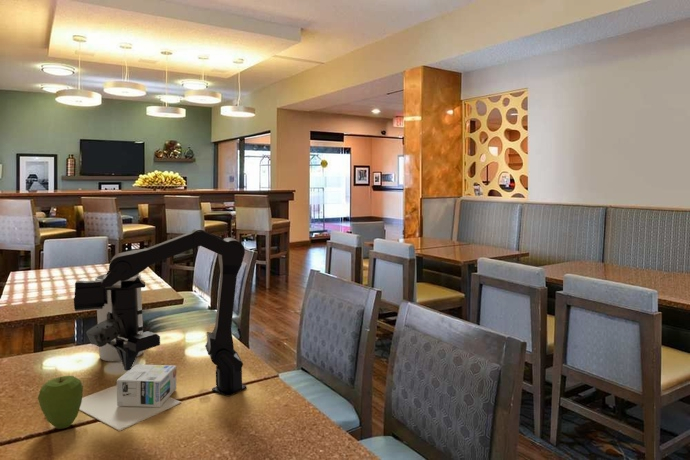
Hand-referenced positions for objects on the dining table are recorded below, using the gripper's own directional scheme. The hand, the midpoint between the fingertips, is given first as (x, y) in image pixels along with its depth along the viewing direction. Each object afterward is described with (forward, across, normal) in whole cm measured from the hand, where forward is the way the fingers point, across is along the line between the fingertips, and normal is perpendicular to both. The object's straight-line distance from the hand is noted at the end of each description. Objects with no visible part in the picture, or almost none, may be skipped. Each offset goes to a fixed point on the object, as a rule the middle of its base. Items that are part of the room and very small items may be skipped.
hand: (127, 370), depth 116 cm
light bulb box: (+5, -4, +2) cm, 7 cm away
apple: (+9, -3, -14) cm, 17 cm away
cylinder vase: (+9, -33, +18) cm, 39 cm away
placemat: (+9, -2, 0) cm, 9 cm away
